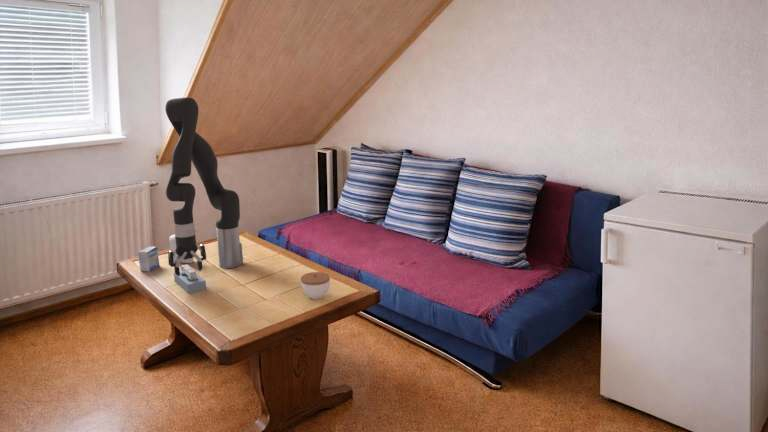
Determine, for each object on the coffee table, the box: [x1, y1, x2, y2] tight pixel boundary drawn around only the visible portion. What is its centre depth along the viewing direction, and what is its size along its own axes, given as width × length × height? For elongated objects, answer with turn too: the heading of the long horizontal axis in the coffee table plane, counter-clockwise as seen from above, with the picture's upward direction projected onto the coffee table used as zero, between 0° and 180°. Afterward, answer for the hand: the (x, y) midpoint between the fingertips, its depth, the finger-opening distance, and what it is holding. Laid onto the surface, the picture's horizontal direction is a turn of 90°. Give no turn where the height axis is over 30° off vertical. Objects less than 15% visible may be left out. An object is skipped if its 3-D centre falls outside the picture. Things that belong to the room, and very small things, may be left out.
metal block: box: [180, 263, 197, 282], centre depth 248 cm, size 2×10×7 cm, turn 36°
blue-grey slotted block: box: [173, 270, 207, 294], centre depth 248 cm, size 7×16×4 cm, turn 36°
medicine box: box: [137, 246, 160, 273], centre depth 266 cm, size 8×4×9 cm, turn 168°
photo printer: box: [168, 234, 195, 264], centre depth 274 cm, size 10×4×12 cm, turn 69°
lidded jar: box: [300, 271, 331, 300], centre depth 236 cm, size 11×11×9 cm
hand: (188, 272), depth 247 cm, fingers open, 8 cm apart
